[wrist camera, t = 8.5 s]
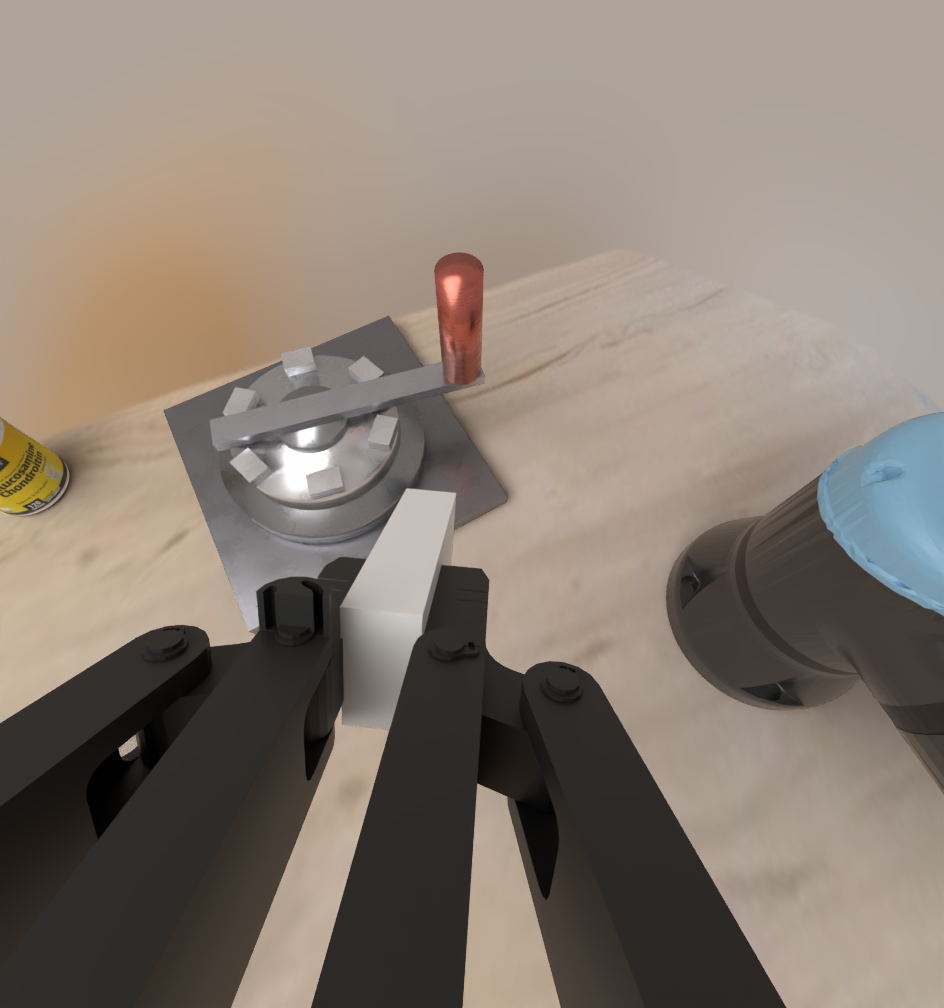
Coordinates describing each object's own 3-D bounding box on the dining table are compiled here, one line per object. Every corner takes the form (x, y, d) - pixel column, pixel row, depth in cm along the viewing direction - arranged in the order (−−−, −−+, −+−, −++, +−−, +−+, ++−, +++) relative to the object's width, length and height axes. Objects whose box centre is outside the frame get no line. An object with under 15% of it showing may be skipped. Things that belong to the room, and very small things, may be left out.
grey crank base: (390, 326, 55) (385, 299, 52) (506, 502, 47) (508, 484, 43) (171, 419, 50) (150, 396, 47) (256, 634, 42) (237, 626, 38)
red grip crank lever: (245, 533, 41) (138, 441, 28) (225, 394, 47) (129, 262, 33) (504, 461, 44) (518, 346, 31) (457, 337, 49) (451, 195, 36)
